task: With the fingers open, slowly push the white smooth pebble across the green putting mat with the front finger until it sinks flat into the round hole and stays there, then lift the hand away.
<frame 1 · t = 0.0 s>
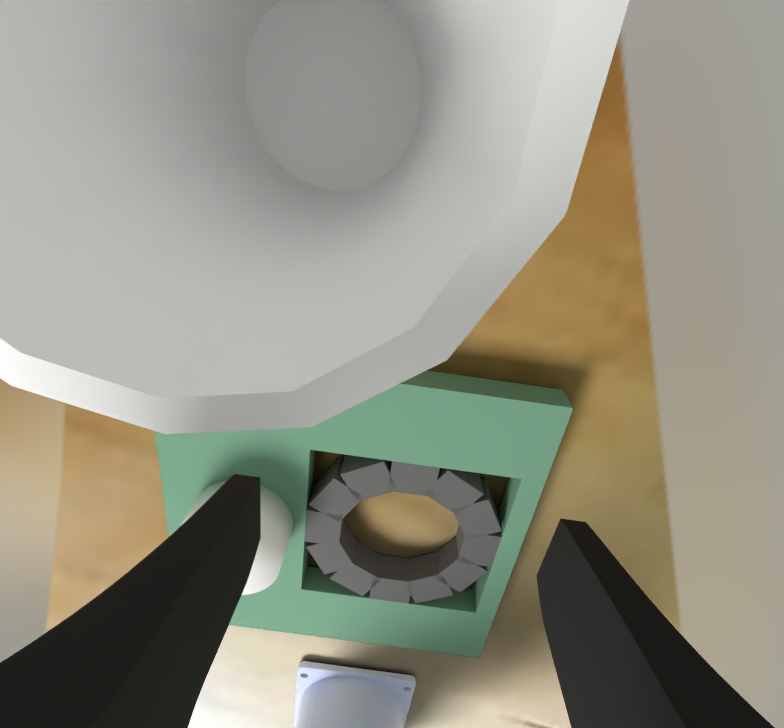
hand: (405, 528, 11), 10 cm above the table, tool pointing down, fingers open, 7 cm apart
foam cup: (337, 97, 16), on the table
white smooth pebble: (244, 517, 23), point 1 cm above the table, touching putting mat
putting mat: (346, 509, 25), on the table
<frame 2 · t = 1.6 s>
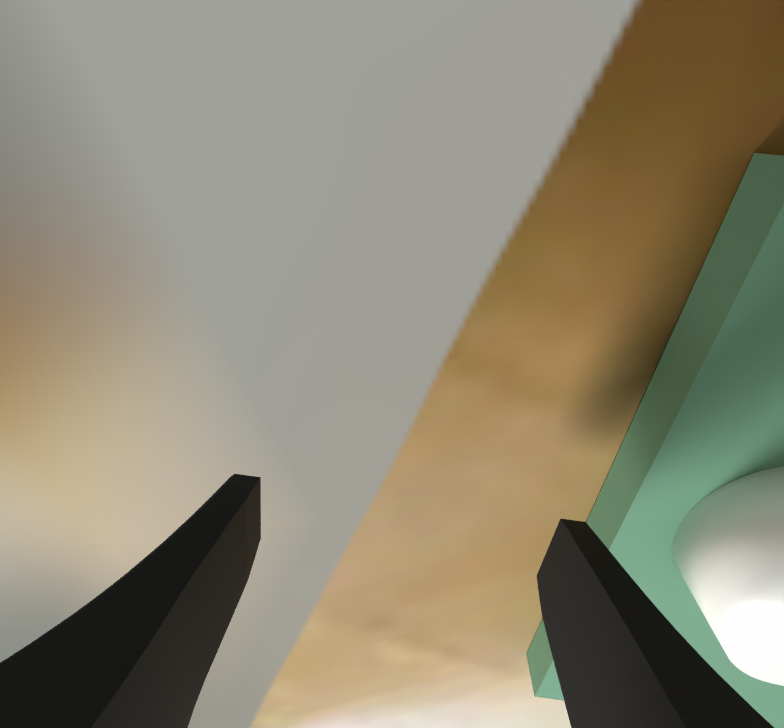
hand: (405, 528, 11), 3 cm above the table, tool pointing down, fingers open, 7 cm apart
white smooth pebble: (770, 536, 13), point 2 cm above the table, touching putting mat
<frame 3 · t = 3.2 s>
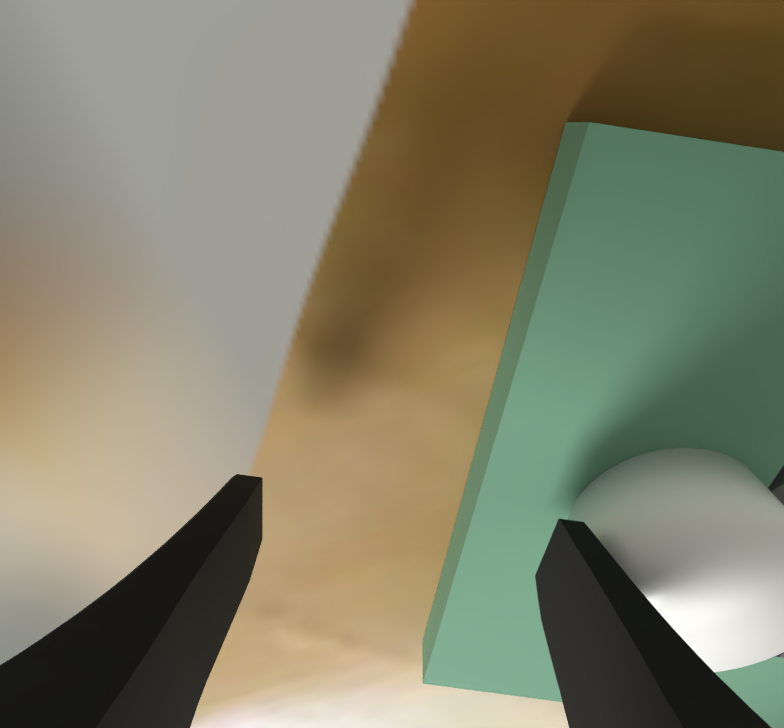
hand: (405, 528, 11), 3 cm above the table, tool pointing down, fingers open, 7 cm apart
white smooth pebble: (661, 522, 12), point 1 cm above the table, touching gripper, putting mat
putting mat: (768, 502, 14), on the table
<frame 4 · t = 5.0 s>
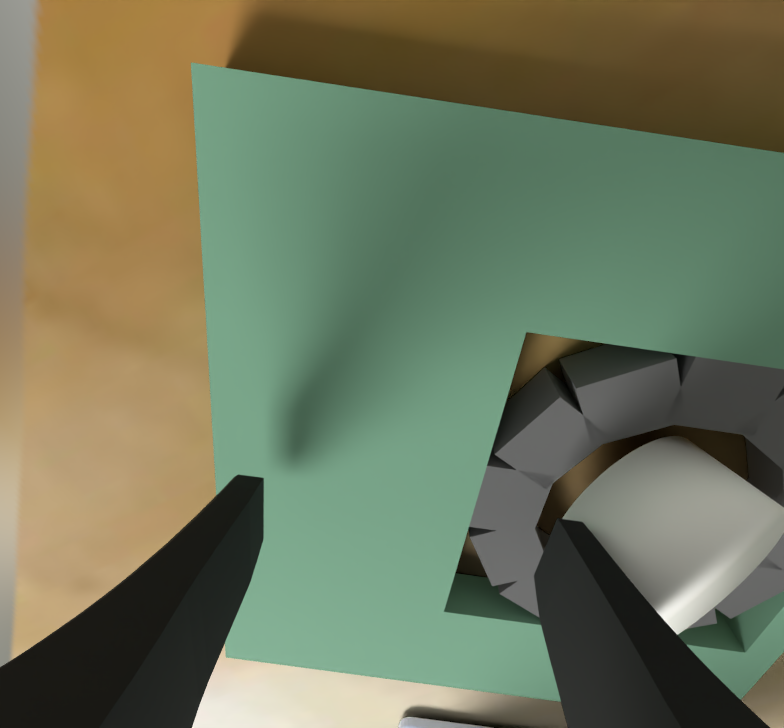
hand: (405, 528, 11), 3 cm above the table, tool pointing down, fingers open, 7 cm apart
white smooth pebble: (622, 507, 13), point 1 cm above the table, tilted 29°, touching gripper
putting mat: (534, 470, 14), on the table
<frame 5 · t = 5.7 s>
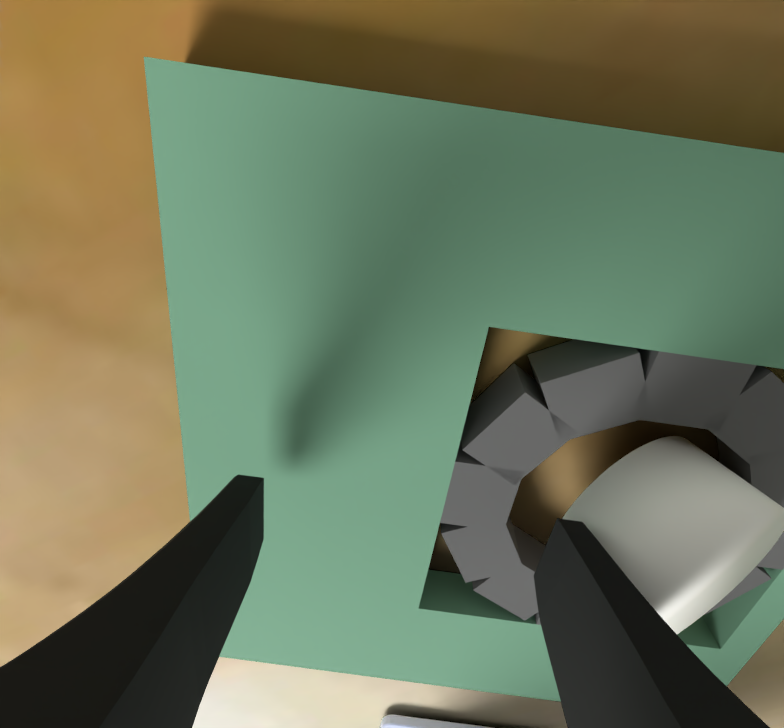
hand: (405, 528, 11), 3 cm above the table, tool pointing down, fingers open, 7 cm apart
white smooth pebble: (622, 507, 13), point 1 cm above the table, tilted 29°, touching gripper
putting mat: (507, 466, 14), on the table
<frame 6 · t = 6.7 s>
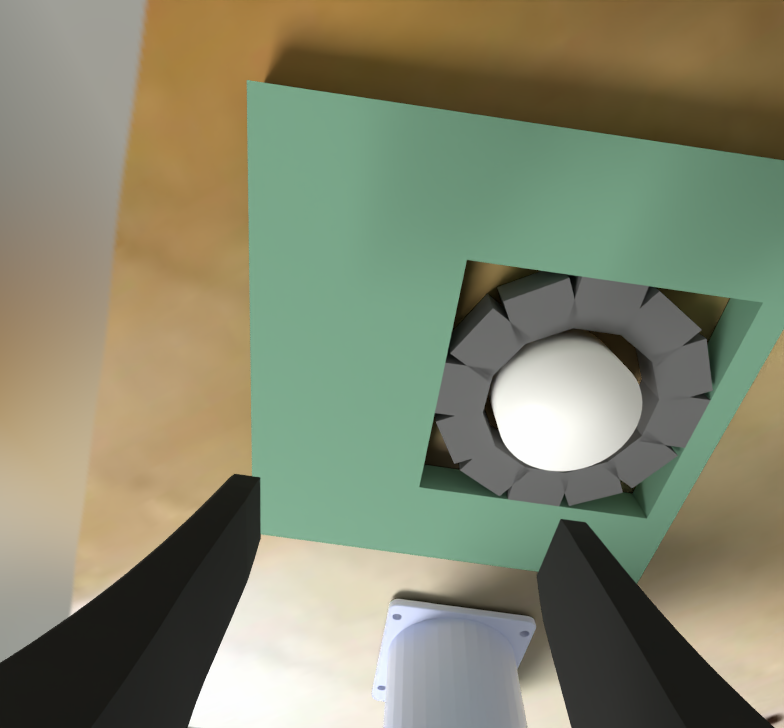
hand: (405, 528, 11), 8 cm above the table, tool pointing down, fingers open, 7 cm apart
white smooth pebble: (549, 382, 19), resting in putting mat
putting mat: (485, 376, 19), on the table
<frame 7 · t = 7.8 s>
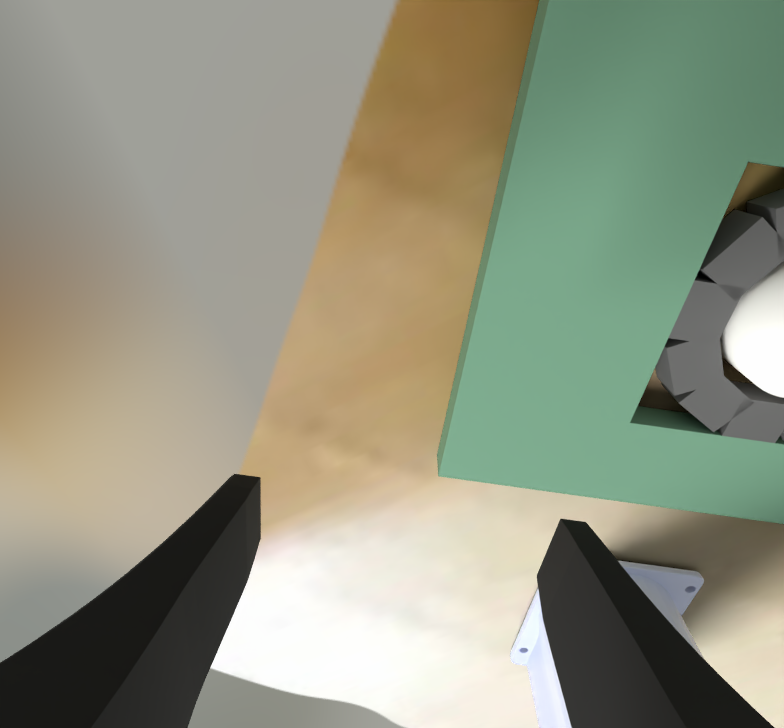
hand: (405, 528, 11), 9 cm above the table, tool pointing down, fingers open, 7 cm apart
white smooth pebble: (776, 309, 18), resting in putting mat
putting mat: (709, 303, 18), on the table
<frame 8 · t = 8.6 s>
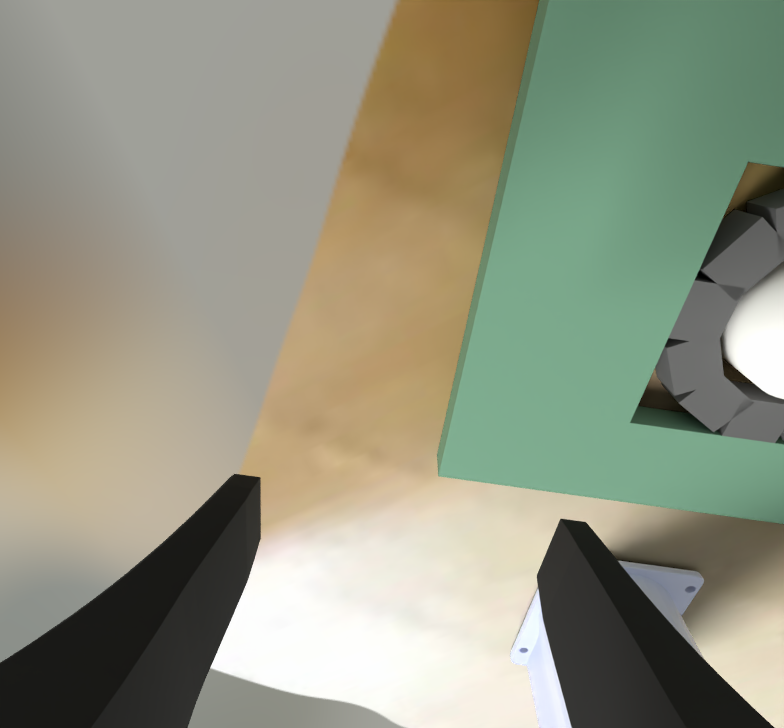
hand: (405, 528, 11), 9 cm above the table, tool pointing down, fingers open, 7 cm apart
white smooth pebble: (777, 310, 18), resting in putting mat
putting mat: (709, 303, 18), on the table
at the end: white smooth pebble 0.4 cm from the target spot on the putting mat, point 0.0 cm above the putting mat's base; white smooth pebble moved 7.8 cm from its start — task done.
